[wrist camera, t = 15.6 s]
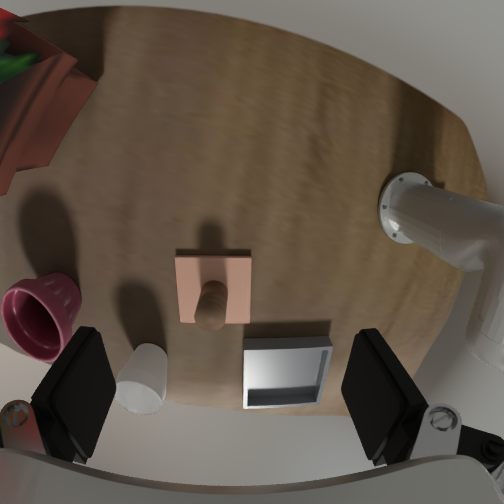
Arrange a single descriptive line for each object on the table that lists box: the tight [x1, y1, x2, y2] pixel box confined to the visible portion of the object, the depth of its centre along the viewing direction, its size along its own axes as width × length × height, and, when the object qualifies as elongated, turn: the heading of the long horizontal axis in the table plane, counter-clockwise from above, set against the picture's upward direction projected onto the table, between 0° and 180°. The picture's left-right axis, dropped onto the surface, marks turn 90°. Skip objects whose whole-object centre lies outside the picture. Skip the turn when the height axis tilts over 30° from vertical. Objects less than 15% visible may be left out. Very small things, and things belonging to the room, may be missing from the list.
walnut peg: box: [194, 280, 228, 331], centre depth 44 cm, size 4×4×8 cm
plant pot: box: [1, 272, 82, 362], centre depth 42 cm, size 14×14×13 cm
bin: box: [243, 336, 333, 409], centre depth 54 cm, size 16×16×4 cm
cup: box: [114, 343, 168, 415], centre depth 47 cm, size 9×9×12 cm
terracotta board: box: [175, 255, 251, 323], centre depth 48 cm, size 12×12×1 cm
